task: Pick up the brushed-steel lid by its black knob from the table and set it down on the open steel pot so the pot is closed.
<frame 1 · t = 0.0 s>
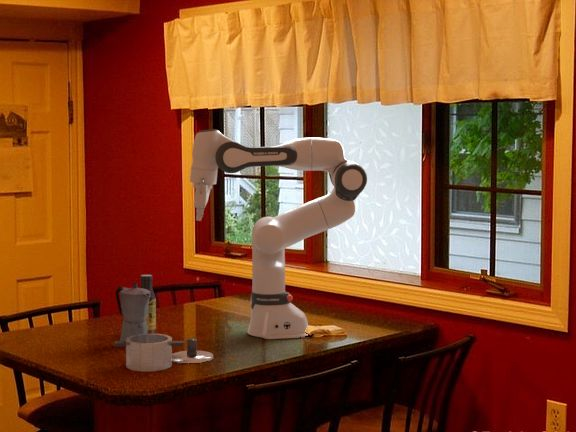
hand: (199, 219, 313), 39 cm above the table, tool pointing down, fingers open, 8 cm apart
pot: (149, 365, 276), on the table
moka pot: (132, 344, 303), on the table
sauce bottle: (146, 334, 317), on the table
lid: (191, 359, 285), on the table
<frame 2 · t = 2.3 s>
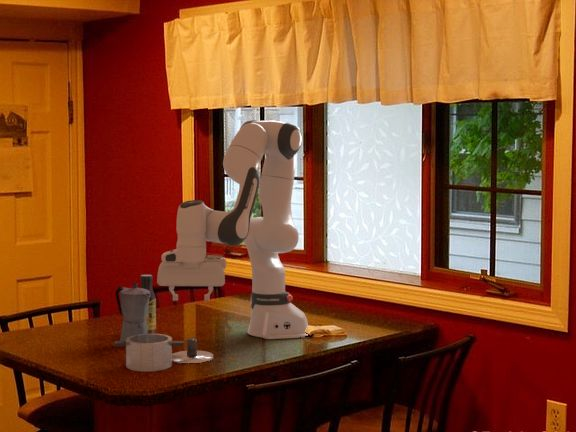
hand: (191, 300, 283), 18 cm above the table, tool pointing down, fingers open, 8 cm apart
nothing on the table moved.
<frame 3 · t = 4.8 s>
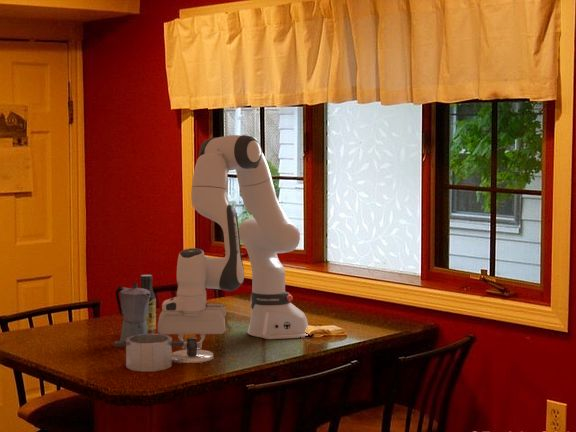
hand: (191, 348, 284), 3 cm above the table, tool pointing down, fingers closed on lid, 3 cm apart
lid: (191, 358, 285), on the table, touching gripper
everything else where it was.
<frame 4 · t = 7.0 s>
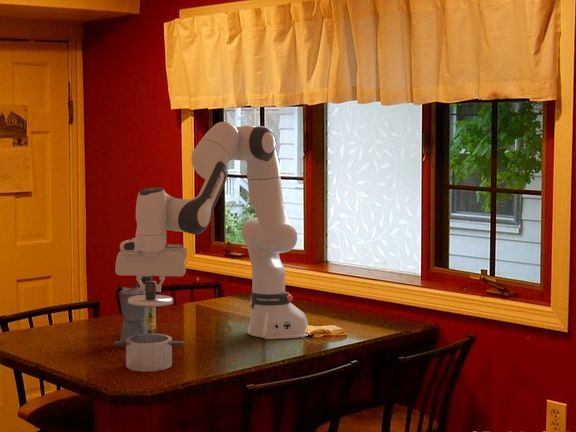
hand: (150, 290, 274), 22 cm above the table, tool pointing down, fingers closed on lid, 3 cm apart
lid: (150, 302, 274), point 19 cm above the table, touching gripper
everything else where it was.
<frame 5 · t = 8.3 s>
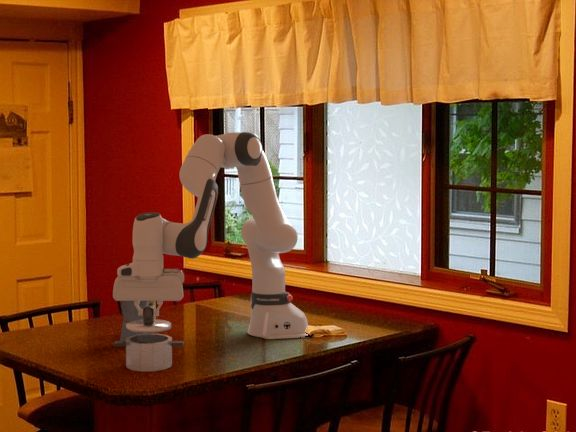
hand: (148, 315, 275), 15 cm above the table, tool pointing down, fingers closed on lid, 3 cm apart
lid: (148, 327, 275), point 11 cm above the table, touching gripper
everything else where it was.
when the fingers open (13 cm above the table, at t = 9.4 s): lid stays where it is, resting on pot.
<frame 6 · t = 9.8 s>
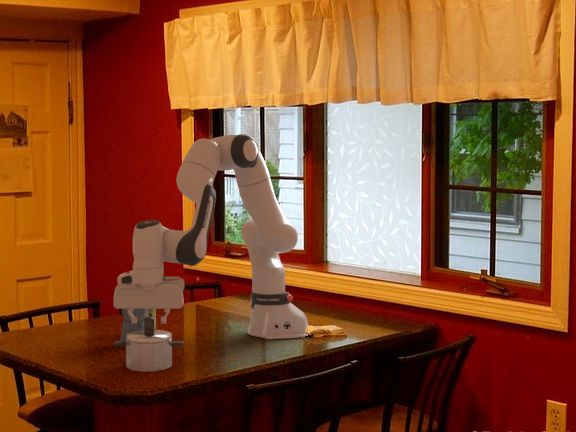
hand: (148, 323, 275), 13 cm above the table, tool pointing down, fingers open, 7 cm apart
lid: (149, 338, 275), point 8 cm above the table, touching pot
everything else where it was.
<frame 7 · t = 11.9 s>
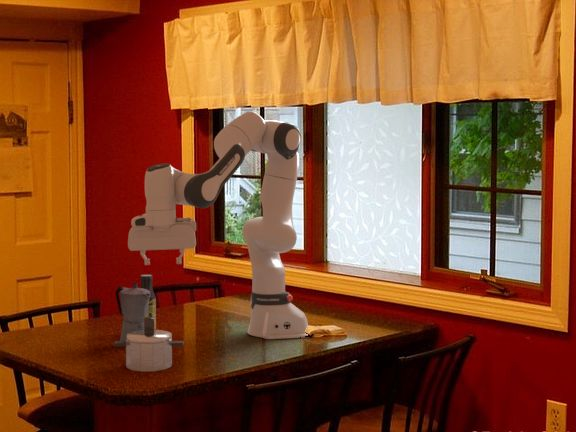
hand: (163, 264, 282), 29 cm above the table, tool pointing down, fingers open, 8 cm apart
nothing on the table moved.
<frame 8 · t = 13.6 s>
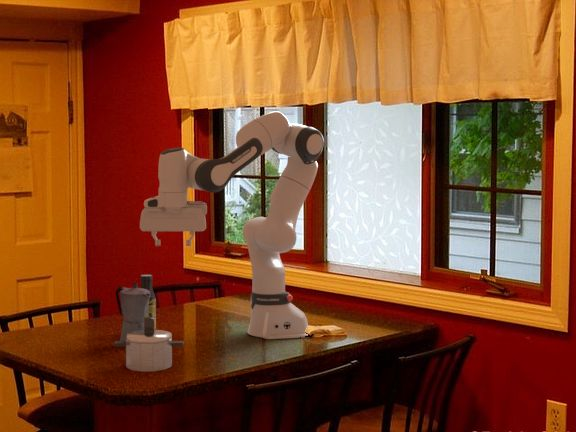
hand: (173, 245, 290), 33 cm above the table, tool pointing down, fingers open, 8 cm apart
nothing on the table moved.
at the end: lid 0.1 cm off-centre on the pot, point 8.0 cm above the pot's base; lid tilted 0°; the gripper is holding nothing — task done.
